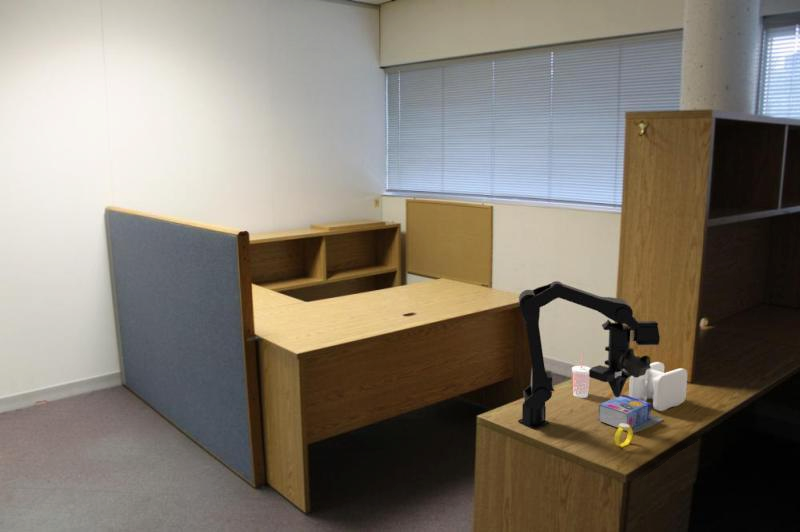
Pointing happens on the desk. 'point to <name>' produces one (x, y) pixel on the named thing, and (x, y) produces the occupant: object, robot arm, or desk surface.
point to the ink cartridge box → (624, 411)
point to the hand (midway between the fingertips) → (617, 396)
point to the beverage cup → (580, 380)
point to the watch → (618, 433)
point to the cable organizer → (660, 386)
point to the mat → (646, 423)
